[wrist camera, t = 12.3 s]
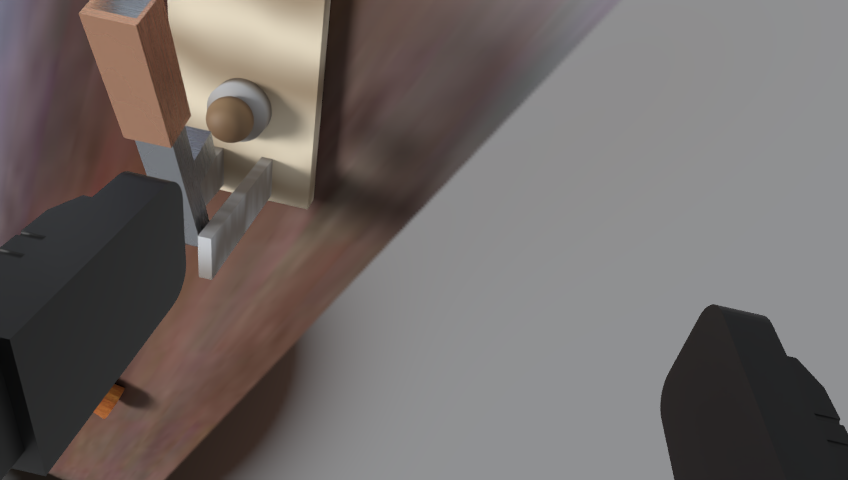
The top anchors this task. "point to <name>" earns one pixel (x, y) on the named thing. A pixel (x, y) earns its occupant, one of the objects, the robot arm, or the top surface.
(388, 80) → the top surface
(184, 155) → the lever
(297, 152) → the base
